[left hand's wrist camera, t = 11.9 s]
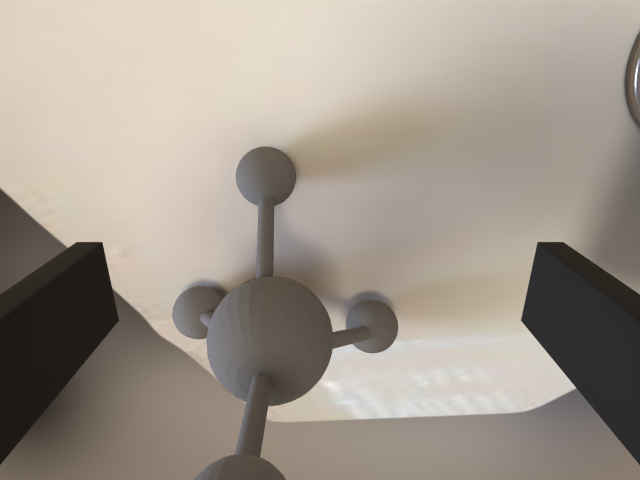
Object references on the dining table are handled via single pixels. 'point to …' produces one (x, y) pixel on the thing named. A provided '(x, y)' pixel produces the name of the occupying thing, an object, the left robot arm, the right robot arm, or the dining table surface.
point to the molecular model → (270, 326)
